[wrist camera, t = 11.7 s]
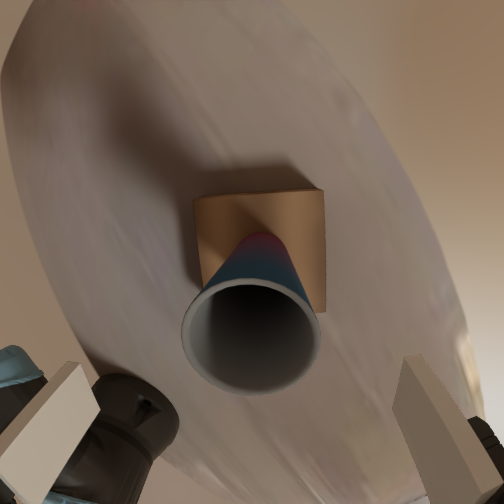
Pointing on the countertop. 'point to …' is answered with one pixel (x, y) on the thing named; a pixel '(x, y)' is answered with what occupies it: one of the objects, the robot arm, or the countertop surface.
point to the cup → (252, 322)
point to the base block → (266, 231)
